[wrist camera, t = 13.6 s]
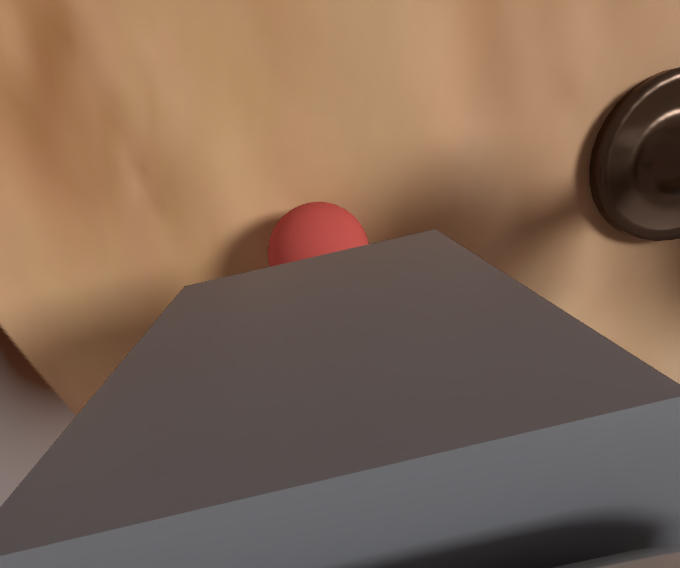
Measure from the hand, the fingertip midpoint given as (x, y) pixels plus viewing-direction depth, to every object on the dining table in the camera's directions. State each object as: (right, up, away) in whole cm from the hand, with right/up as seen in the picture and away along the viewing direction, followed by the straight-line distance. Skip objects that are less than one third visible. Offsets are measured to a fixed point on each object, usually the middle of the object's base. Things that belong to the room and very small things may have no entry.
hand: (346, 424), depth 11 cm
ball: (-1, +5, +10) cm, 11 cm away
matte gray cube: (0, +1, +3) cm, 3 cm away
